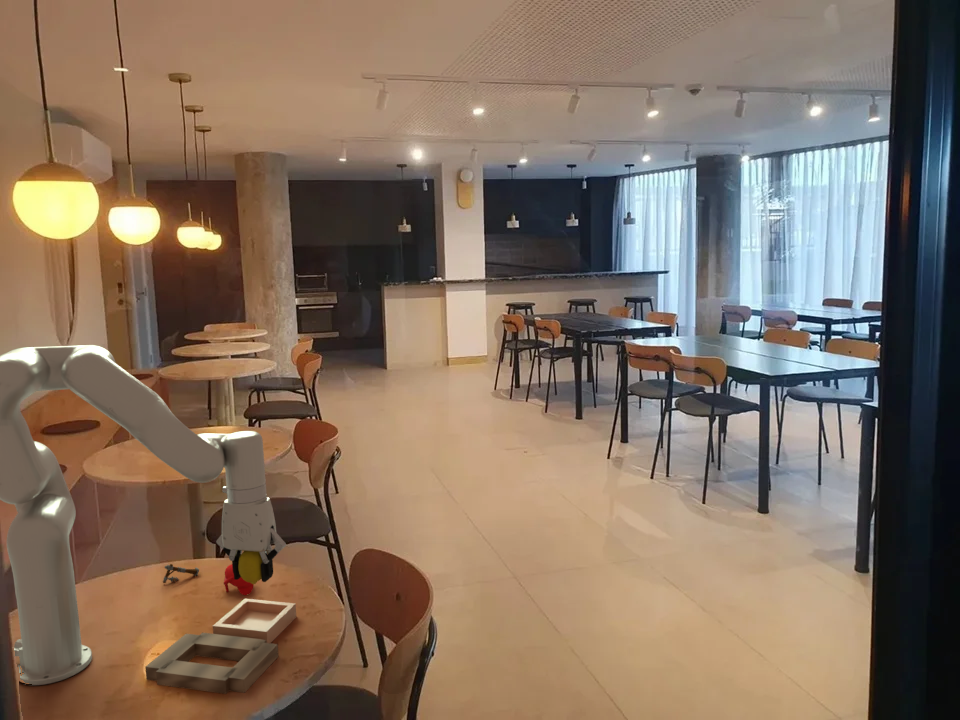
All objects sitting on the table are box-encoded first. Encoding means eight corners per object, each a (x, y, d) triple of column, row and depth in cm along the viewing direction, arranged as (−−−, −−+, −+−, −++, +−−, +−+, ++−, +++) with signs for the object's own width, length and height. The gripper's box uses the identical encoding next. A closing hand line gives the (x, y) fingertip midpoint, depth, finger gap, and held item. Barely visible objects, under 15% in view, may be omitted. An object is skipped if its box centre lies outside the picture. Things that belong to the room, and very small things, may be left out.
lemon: (234, 587, 150) (230, 549, 148) (254, 576, 154) (251, 540, 153) (254, 592, 147) (251, 554, 146) (273, 581, 152) (271, 544, 151)
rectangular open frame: (142, 682, 133) (141, 669, 133) (190, 642, 147) (189, 631, 146) (241, 695, 129) (240, 682, 128) (281, 653, 142) (280, 641, 142)
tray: (213, 639, 148) (212, 625, 147) (245, 611, 159) (244, 598, 159) (267, 646, 145) (266, 631, 144) (296, 616, 156) (295, 603, 156)
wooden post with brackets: (158, 580, 173) (164, 562, 174) (190, 584, 178) (197, 566, 179) (160, 583, 172) (167, 564, 173) (193, 587, 177) (199, 568, 178)
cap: (213, 577, 169) (221, 571, 165) (234, 560, 173) (242, 554, 169) (235, 604, 169) (243, 599, 165) (255, 587, 173) (263, 582, 169)
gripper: (198, 496, 146) (205, 582, 149) (276, 501, 142) (282, 589, 145) (219, 485, 153) (226, 567, 156) (294, 489, 149) (300, 573, 152)
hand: (253, 577), depth 151 cm, fingers closed on lemon, 5 cm apart
